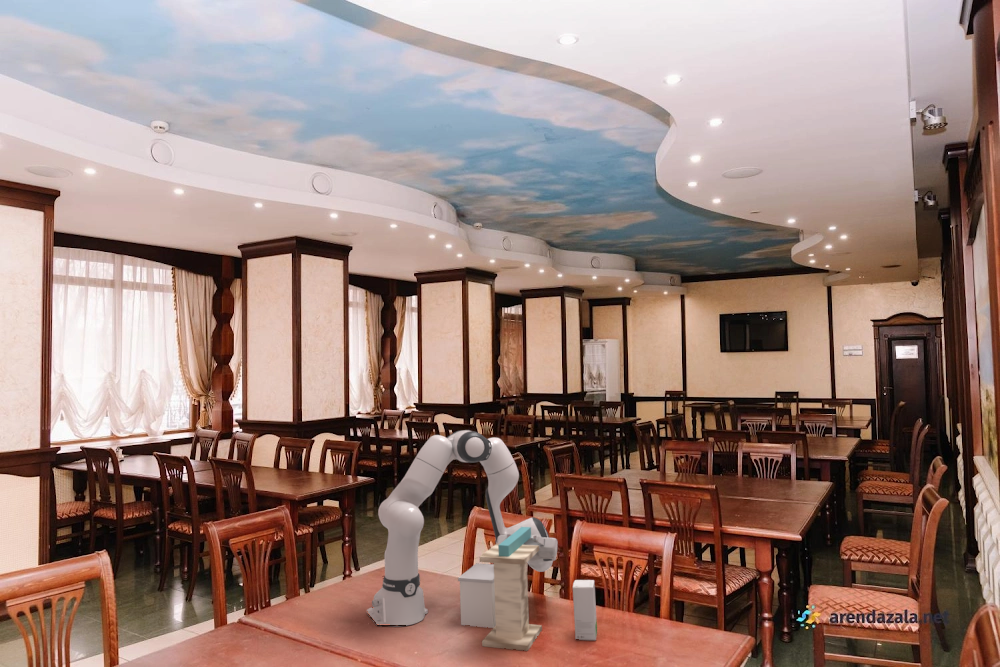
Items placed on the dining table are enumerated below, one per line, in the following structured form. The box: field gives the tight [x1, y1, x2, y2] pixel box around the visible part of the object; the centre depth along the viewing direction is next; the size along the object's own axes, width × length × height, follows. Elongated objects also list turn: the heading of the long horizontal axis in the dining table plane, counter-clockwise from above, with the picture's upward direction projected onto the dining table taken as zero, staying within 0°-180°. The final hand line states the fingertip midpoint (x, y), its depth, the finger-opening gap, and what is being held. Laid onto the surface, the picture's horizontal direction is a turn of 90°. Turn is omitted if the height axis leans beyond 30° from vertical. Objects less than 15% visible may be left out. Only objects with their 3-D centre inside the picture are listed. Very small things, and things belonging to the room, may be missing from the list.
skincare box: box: [572, 579, 598, 641], centre depth 202 cm, size 8×7×16 cm
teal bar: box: [498, 527, 531, 557], centre depth 209 cm, size 24×3×3 cm, turn 161°
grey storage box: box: [457, 562, 496, 629], centre depth 220 cm, size 17×12×15 cm
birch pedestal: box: [479, 543, 543, 652], centre depth 202 cm, size 16×14×26 cm
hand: (521, 537), depth 215 cm, fingers open, 8 cm apart
